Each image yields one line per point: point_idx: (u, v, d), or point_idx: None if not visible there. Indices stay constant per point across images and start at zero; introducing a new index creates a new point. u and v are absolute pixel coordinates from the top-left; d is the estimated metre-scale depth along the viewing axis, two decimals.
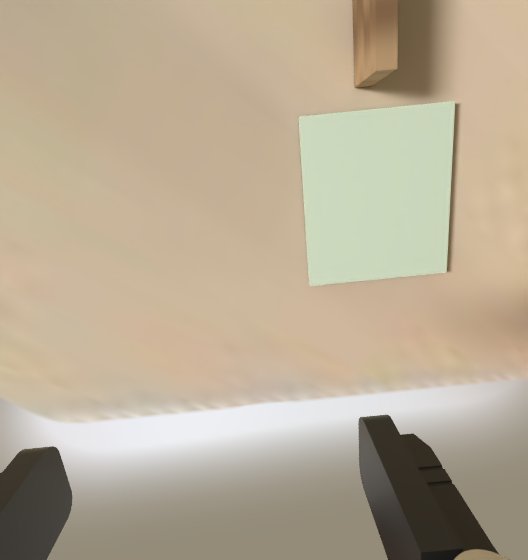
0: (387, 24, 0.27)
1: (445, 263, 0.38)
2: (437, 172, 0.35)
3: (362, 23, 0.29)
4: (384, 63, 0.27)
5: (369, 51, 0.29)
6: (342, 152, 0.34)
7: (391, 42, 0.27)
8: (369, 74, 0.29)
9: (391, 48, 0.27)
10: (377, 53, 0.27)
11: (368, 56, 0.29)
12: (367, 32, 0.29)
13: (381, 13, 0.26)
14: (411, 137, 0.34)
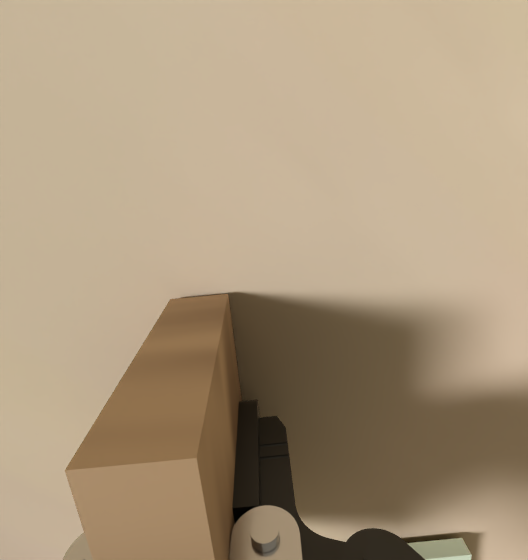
0: None
1: None
2: None
3: None
4: None
5: None
6: None
7: None
8: None
9: None
10: None
11: None
12: None
13: None
14: None
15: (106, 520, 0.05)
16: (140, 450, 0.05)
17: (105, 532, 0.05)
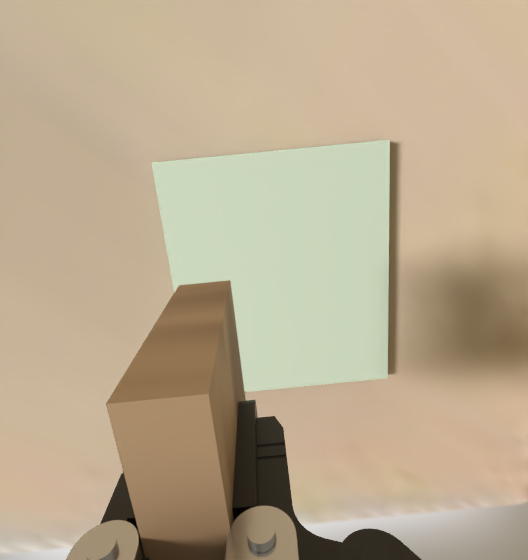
0: None
1: (385, 366, 0.26)
2: (368, 242, 0.23)
3: None
4: None
5: None
6: (222, 214, 0.23)
7: None
8: None
9: None
10: None
11: None
12: None
13: None
14: (325, 193, 0.23)
15: (137, 446, 0.06)
16: (164, 391, 0.06)
17: (135, 456, 0.06)
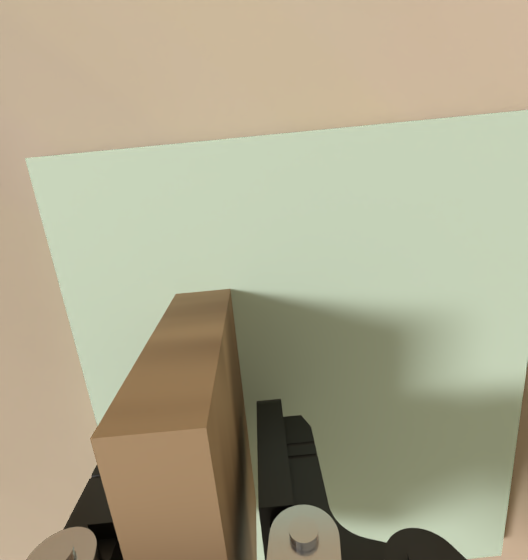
0: None
1: (499, 537, 0.14)
2: (490, 323, 0.11)
3: None
4: None
5: None
6: (189, 268, 0.11)
7: None
8: None
9: None
10: None
11: None
12: None
13: None
14: (410, 225, 0.10)
15: (126, 484, 0.05)
16: (155, 422, 0.05)
17: (124, 495, 0.05)
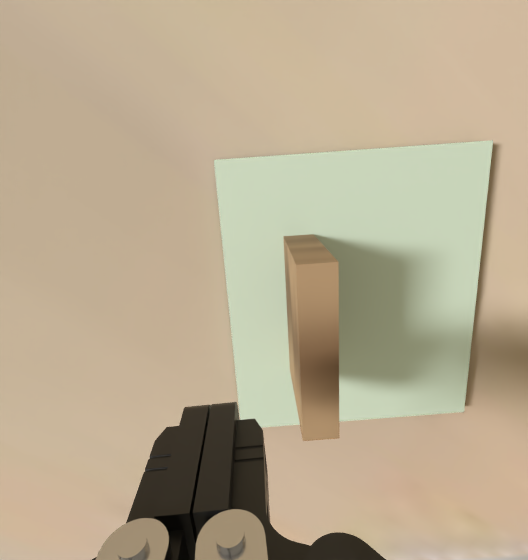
0: (320, 381, 0.15)
1: (463, 398, 0.23)
2: (456, 259, 0.20)
3: (291, 324, 0.18)
4: (317, 431, 0.16)
5: (297, 386, 0.17)
6: (292, 222, 0.19)
7: (329, 404, 0.16)
8: (298, 415, 0.18)
9: (328, 412, 0.16)
10: (305, 419, 0.16)
11: (297, 388, 0.18)
12: (295, 355, 0.17)
13: (311, 367, 0.15)
14: (412, 201, 0.19)
15: (305, 285, 0.14)
16: (317, 261, 0.14)
17: (304, 290, 0.14)
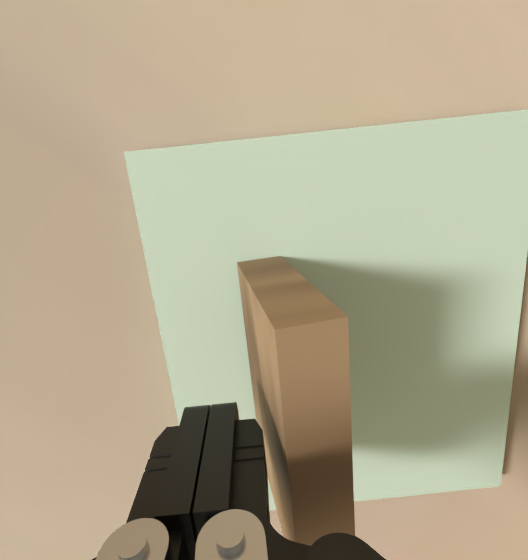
0: (324, 509, 0.09)
1: (499, 469, 0.17)
2: (490, 283, 0.14)
3: (262, 398, 0.12)
4: None
5: (281, 501, 0.11)
6: (248, 239, 0.13)
7: None
8: None
9: None
10: None
11: (280, 501, 0.11)
12: (273, 452, 0.11)
13: (308, 491, 0.09)
14: (424, 203, 0.13)
15: (293, 363, 0.08)
16: (311, 319, 0.08)
17: (290, 371, 0.08)
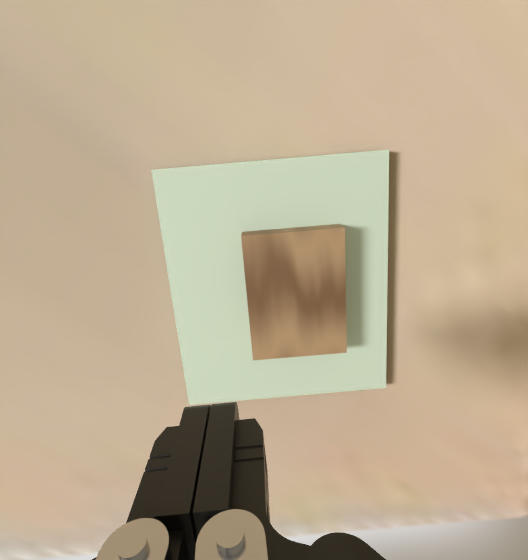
0: None
1: (384, 376, 0.26)
2: (367, 251, 0.23)
3: (291, 295, 0.22)
4: None
5: (321, 330, 0.23)
6: (221, 221, 0.23)
7: None
8: (322, 353, 0.24)
9: None
10: (346, 335, 0.23)
11: (317, 334, 0.23)
12: (313, 309, 0.23)
13: None
14: (324, 202, 0.23)
15: (343, 240, 0.22)
16: (337, 226, 0.22)
17: (344, 244, 0.22)
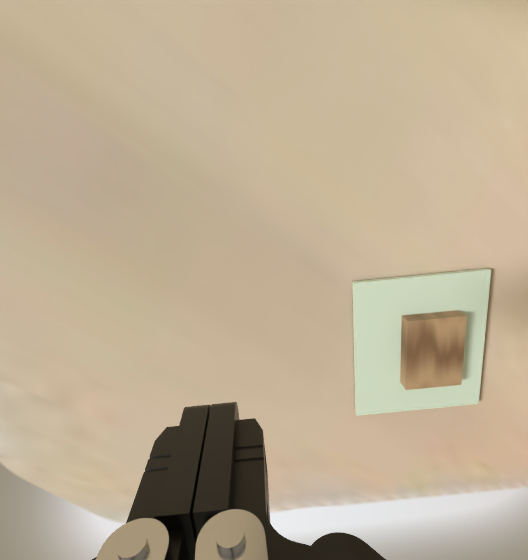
0: None
1: (477, 396, 0.42)
2: (473, 325, 0.39)
3: (432, 353, 0.39)
4: None
5: (447, 372, 0.39)
6: (390, 310, 0.39)
7: None
8: (446, 385, 0.40)
9: None
10: (461, 375, 0.40)
11: (445, 374, 0.39)
12: (444, 360, 0.39)
13: None
14: (451, 298, 0.38)
15: (464, 322, 0.38)
16: (460, 313, 0.38)
17: (464, 324, 0.38)
